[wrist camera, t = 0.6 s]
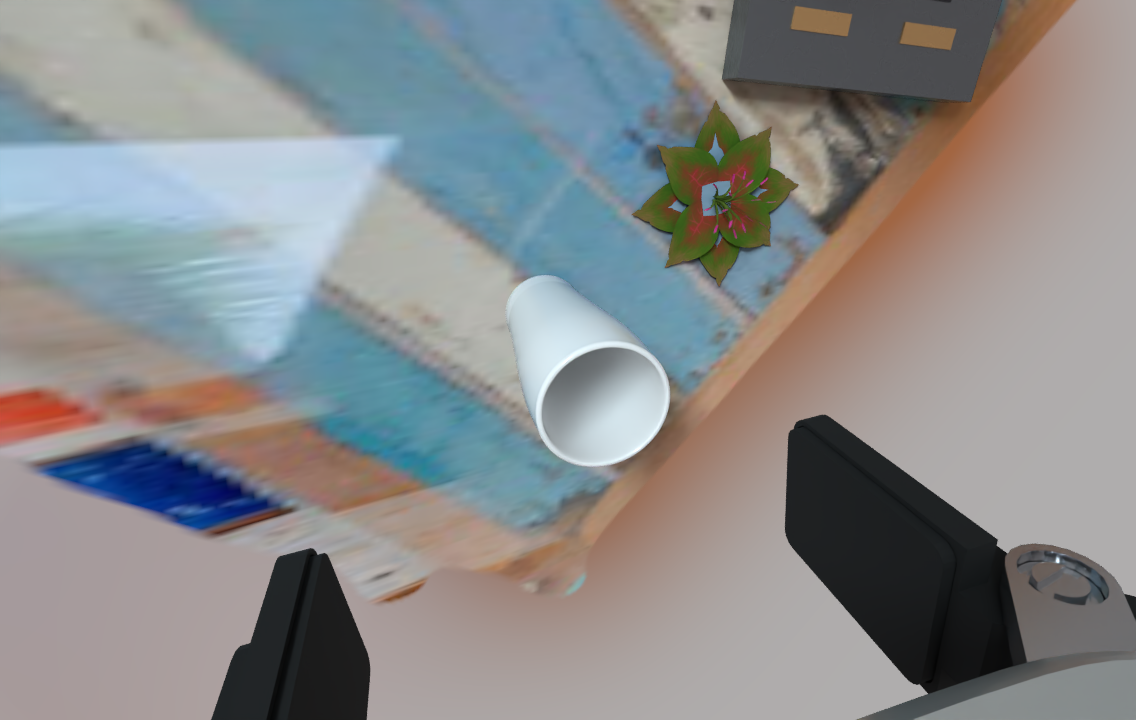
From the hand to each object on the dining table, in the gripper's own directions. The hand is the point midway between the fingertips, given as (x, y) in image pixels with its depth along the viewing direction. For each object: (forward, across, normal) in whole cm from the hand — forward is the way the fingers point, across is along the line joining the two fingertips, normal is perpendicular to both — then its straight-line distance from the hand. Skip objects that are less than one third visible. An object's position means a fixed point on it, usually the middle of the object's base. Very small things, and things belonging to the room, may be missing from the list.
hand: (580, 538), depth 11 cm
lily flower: (+30, -18, 0) cm, 34 cm away
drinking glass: (+29, -4, +6) cm, 30 cm away
